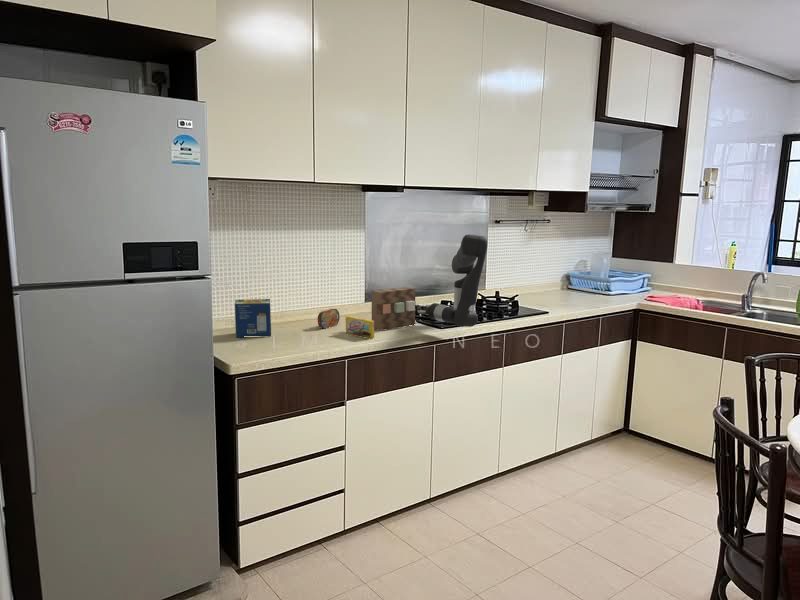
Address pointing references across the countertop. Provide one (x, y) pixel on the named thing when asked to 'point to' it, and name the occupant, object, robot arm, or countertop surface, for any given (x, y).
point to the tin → (328, 318)
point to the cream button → (410, 305)
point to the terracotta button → (386, 308)
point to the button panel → (392, 308)
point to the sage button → (398, 307)
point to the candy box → (360, 327)
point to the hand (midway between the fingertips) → (415, 307)
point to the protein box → (253, 317)
